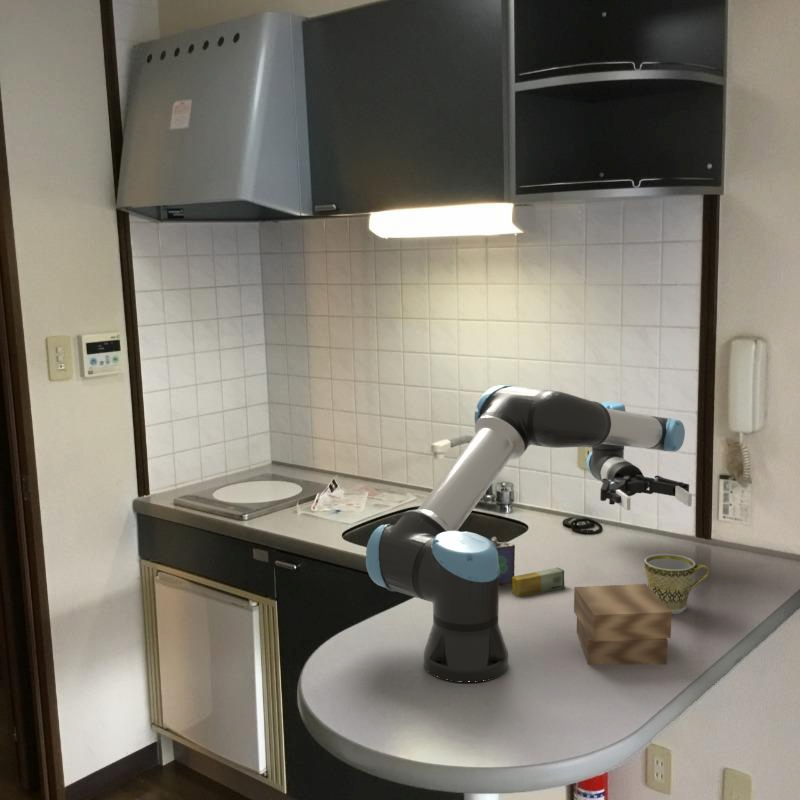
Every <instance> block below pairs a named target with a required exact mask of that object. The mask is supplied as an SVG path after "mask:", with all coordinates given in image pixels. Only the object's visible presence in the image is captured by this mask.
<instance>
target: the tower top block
mask: <svg viewBox="0 0 800 800" xmlns="http://www.w3.org/2000/svg"><path fill="white" fill-rule="evenodd" d="M573 588H574V590H573V591H574V593H573V594H574V595H573V598H574V599H573V613H574V614H575V615H576V618H577V617H578V619H579V620H580V622H581V623H582V625H583V626H584V628H585V629H586V631H587V632H588V634H589V635H590V637H591V638H592V640H593V641H594V642H603V641H625V640H646V639H667V640H668V639H672V638H671V637H672V615H673V614H672V612H671V611H670V610H669V608H668V607H667V606H666V605H665V604H664V603H663V602H662V601H661V600H660V599H659V598H658V596H657V595H656V594H655V593H654V592H653V591H652V590H651V589H650V588H649V586H648V585H647V583H639V584H638V583H637V584H617V585H615V584H613V585H592V586H591V585H590V586H589V585H588V586H574V587H573Z"/></svg>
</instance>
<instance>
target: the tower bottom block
mask: <svg viewBox="0 0 800 800" xmlns="http://www.w3.org/2000/svg"><path fill="white" fill-rule="evenodd" d="M576 635H577V637H578V640H579V644H580V646H581V648H582V652H583V655H584V658H585V659H586V660H585V661H586V664H587V665H668V664H667V663H668V639H646V640H625V641H603V642H594V641H593V640H592V638H591V637H590V635H589V634H588V632H587V631H586V629H585V628H584V626H583V625H582V623H581V622H580V620H579V619H578V617H577V616H576Z"/></svg>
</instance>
